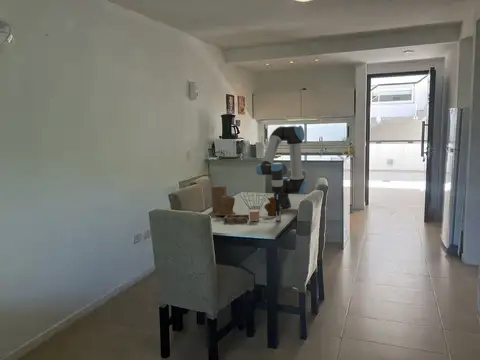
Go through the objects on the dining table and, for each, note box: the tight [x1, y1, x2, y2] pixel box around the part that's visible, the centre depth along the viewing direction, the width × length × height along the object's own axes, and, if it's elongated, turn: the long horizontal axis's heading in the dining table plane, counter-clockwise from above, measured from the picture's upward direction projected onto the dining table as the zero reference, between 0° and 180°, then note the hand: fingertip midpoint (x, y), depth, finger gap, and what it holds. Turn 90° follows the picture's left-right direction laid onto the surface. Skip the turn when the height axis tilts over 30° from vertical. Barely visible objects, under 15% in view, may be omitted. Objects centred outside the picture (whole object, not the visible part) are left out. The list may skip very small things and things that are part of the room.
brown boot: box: [213, 195, 237, 217], centre depth 298 cm, size 15×12×15 cm
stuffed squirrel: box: [263, 196, 283, 216], centre depth 292 cm, size 10×14×13 cm
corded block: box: [249, 206, 282, 222], centre depth 276 cm, size 21×6×11 cm, turn 82°
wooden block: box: [210, 184, 228, 213], centre depth 315 cm, size 10×10×20 cm
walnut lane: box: [223, 214, 250, 224], centre depth 279 cm, size 16×10×4 cm, turn 82°
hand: (278, 219), depth 275 cm, fingers closed on corded block, 5 cm apart
